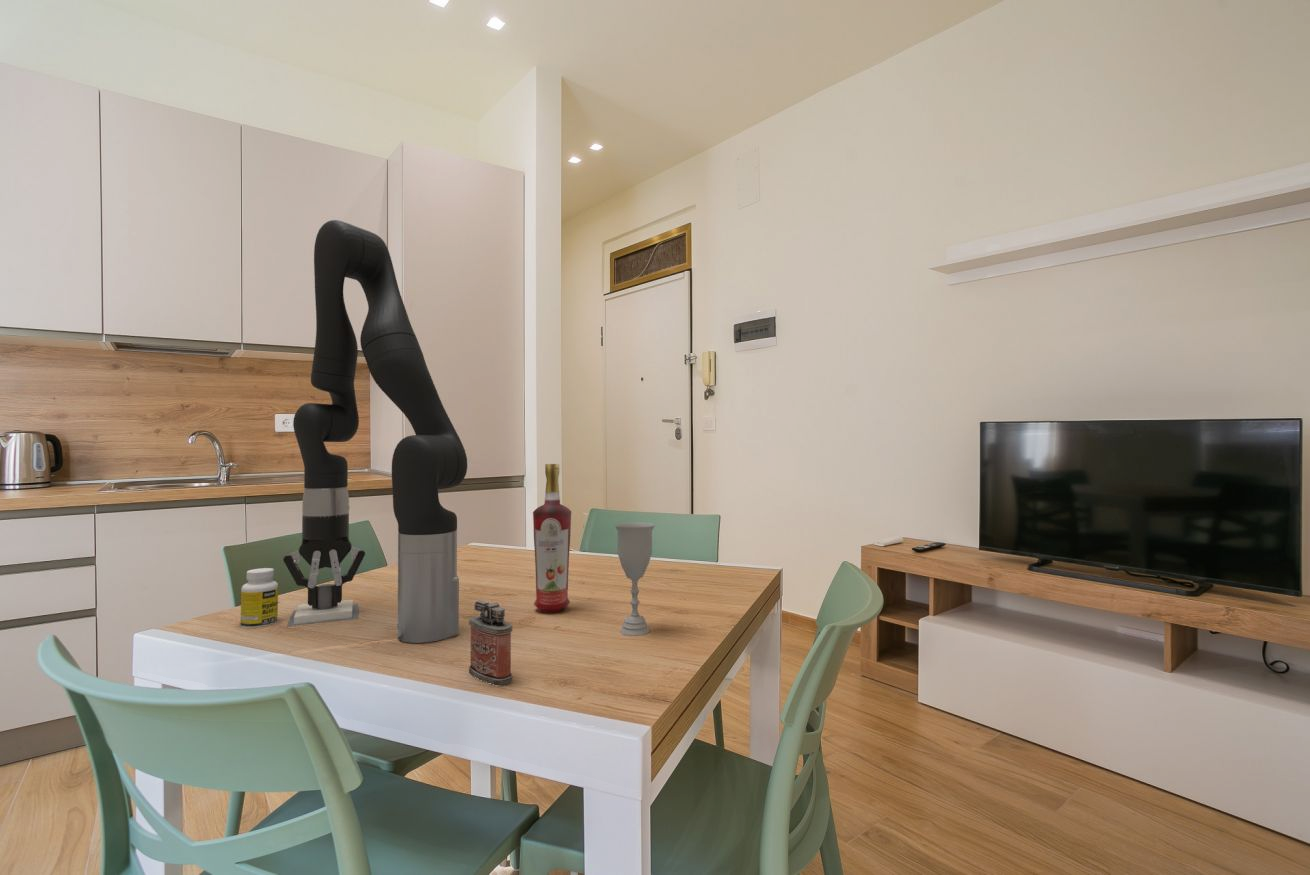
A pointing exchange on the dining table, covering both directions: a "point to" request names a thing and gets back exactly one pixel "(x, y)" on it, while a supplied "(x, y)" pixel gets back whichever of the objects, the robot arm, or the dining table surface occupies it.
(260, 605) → the supplement bottle
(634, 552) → the chalice
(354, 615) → the mat
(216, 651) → the dining table surface
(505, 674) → the lighter
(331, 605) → the lid
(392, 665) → the dining table surface
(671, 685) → the dining table surface
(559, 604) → the liquor
